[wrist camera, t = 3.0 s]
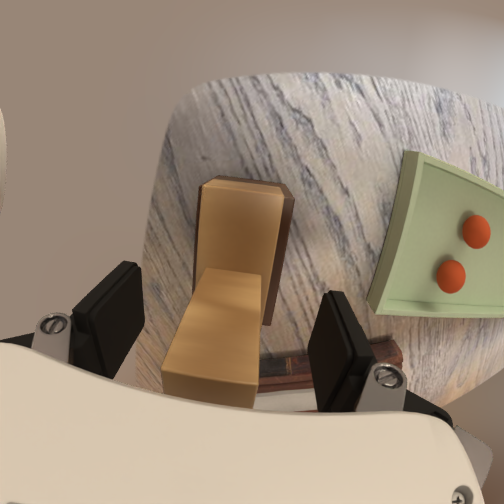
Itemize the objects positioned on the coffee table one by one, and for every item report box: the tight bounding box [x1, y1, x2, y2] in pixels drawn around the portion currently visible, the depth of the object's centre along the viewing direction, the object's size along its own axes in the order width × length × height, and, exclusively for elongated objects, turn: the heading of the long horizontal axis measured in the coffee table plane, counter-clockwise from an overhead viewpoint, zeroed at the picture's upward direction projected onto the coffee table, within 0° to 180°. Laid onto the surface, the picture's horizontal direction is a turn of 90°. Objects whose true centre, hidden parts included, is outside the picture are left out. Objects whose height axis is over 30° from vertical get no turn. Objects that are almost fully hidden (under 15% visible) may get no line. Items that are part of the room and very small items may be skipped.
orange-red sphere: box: [436, 260, 466, 294], centre depth 19 cm, size 3×3×3 cm
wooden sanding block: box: [160, 178, 284, 409], centre depth 11 cm, size 3×9×10 cm, turn 173°
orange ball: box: [462, 215, 491, 249], centre depth 17 cm, size 3×3×3 cm
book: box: [253, 340, 403, 413], centre depth 25 cm, size 23×16×5 cm
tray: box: [367, 151, 504, 318], centre depth 19 cm, size 27×13×2 cm, turn 82°
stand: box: [192, 175, 295, 326], centre depth 18 cm, size 5×8×6 cm, turn 173°
